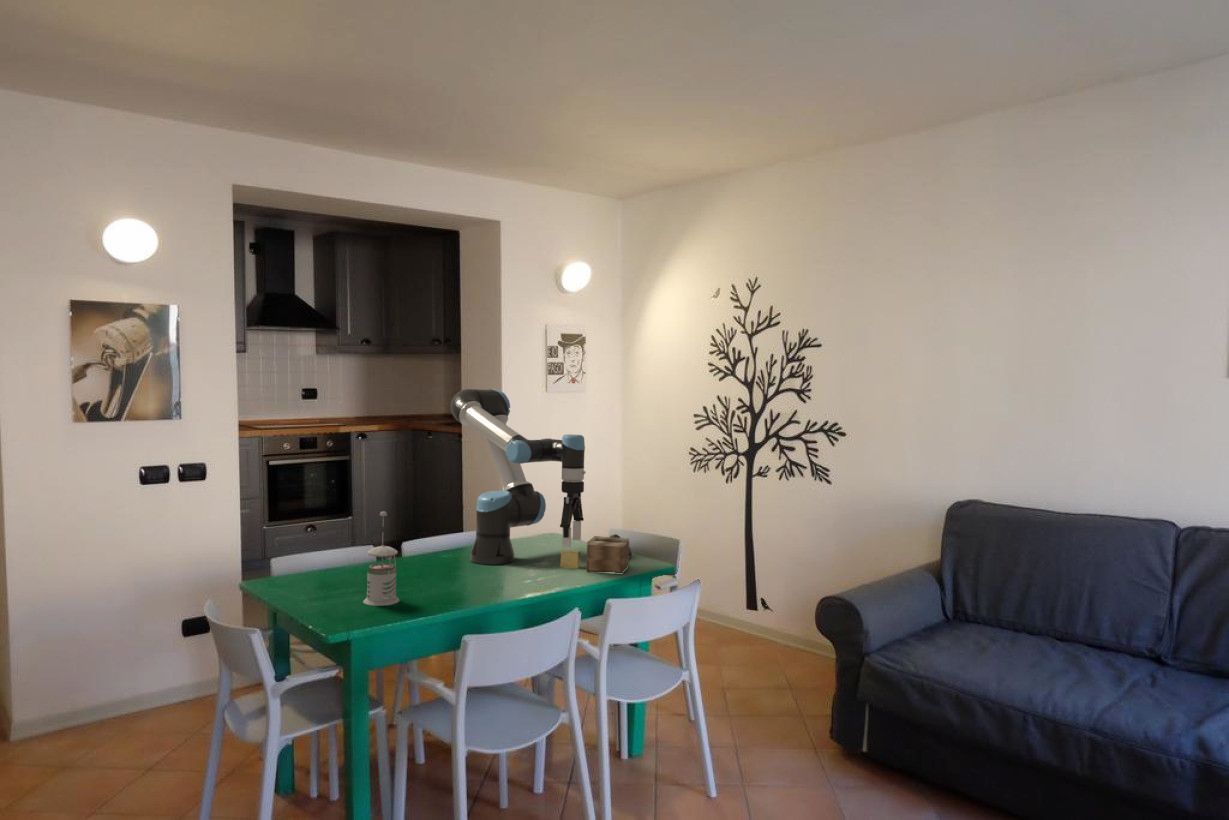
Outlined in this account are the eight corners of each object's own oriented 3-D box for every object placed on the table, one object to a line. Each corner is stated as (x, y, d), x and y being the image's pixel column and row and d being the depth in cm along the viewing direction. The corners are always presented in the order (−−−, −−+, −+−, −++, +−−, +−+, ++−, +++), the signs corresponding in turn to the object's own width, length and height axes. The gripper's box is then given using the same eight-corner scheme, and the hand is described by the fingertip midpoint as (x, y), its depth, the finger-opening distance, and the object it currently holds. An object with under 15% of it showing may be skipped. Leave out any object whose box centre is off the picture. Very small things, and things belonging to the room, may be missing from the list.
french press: (356, 604, 225) (358, 513, 224) (376, 593, 236) (378, 507, 235) (390, 607, 223) (392, 515, 222) (408, 596, 234) (410, 509, 233)
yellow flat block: (560, 567, 277) (560, 551, 277) (562, 565, 279) (562, 549, 279) (577, 568, 276) (578, 552, 275) (579, 567, 278) (580, 550, 278)
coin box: (586, 572, 271) (587, 542, 270) (593, 565, 281) (594, 536, 281) (622, 575, 268) (623, 544, 268) (628, 567, 279) (629, 538, 279)
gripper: (574, 485, 263) (573, 550, 264) (592, 477, 288) (591, 537, 288) (551, 484, 265) (550, 549, 265) (571, 476, 289) (570, 536, 290)
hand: (571, 543), depth 277 cm, fingers open, 13 cm apart
